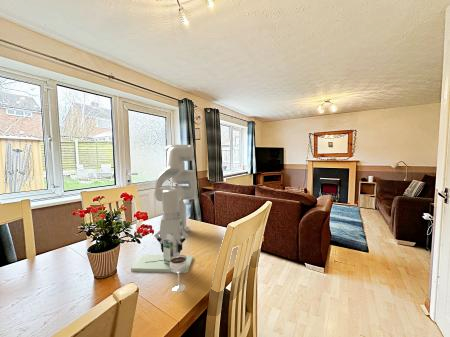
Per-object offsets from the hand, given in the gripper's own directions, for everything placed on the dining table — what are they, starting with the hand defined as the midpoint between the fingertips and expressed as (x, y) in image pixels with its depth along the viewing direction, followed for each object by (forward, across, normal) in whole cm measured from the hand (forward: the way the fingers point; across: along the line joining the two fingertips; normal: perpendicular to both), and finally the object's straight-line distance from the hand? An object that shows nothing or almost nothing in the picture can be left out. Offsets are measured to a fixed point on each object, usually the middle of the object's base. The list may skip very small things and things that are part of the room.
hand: (171, 250), depth 94 cm
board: (+7, +4, 0) cm, 8 cm away
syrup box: (+5, 0, 0) cm, 5 cm away
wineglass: (+7, -8, +16) cm, 19 cm away
